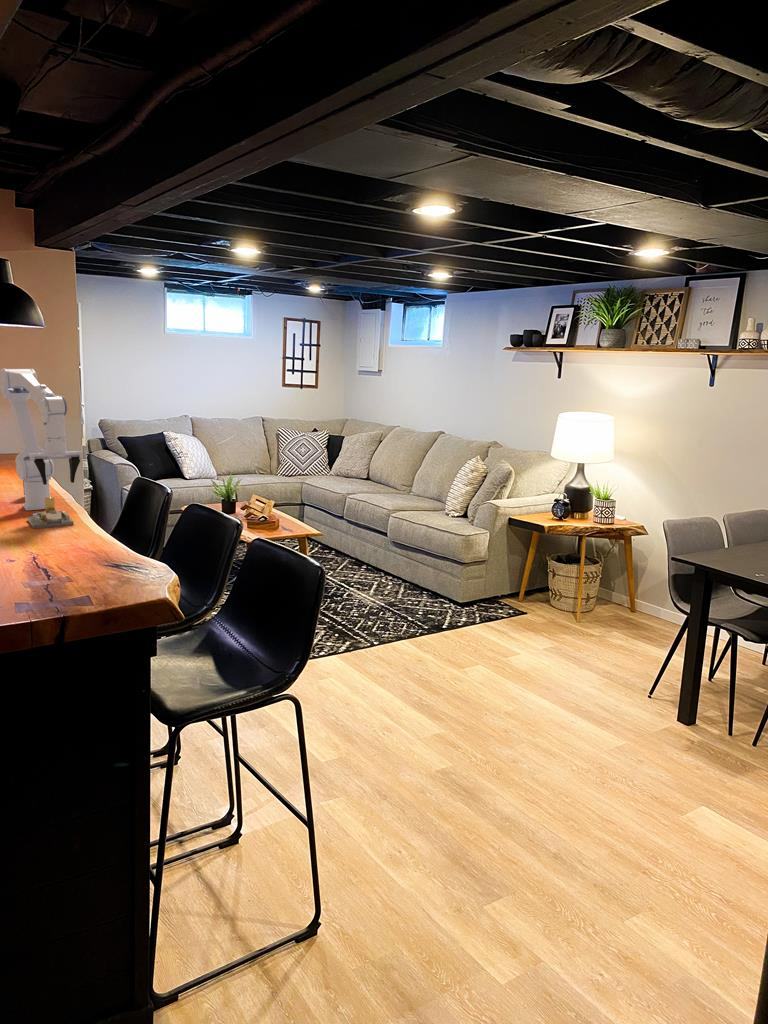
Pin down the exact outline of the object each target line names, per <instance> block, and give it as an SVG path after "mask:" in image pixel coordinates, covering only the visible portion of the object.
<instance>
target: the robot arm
mask: <svg viewBox="0 0 768 1024" xmlns="http://www.w3.org/2000/svg"><path fill="white" fill-rule="evenodd" d="M0 392H1V394H2V397H3V399H5V400H7V401H8V402H9V405H10V409H11V414H12V417H13V422H14V425H15V428H16V431H17V436H18V439H19V442H20V447H21V452H20V453H18V454H17V455H16V457H15V460H14V462H15V471H16V474H17V477H18V478H19V479H20V480H21V481H22V482H23V481H24V487H23V492H24V491H25V495H24V500H25V503H22V507H23V509H24V510H25V511H38V510H39V511H40V510H45V499H44V498H46V497H51V492H50V490H51V489H50V481H49V480H51V479H52V477H53V476H54V474H55V464H54V460H63V459H65V460H66V459H68V463H69V474H70V475H69V479H70V482H71V483H75V480H76V479H75V478H76V473H77V470H78V467H79V465H80V463H81V459H82V458H84V451H83V450H67V448H68V447H67V438H66V437H67V434H66V424H65V423H66V422H65V416H66V415H67V413H68V403H67V400H66V398H65V396H63V395H56V394H55V393H54V392H53V391H52V390H51V389H50V388H49V387H47V385H46V384H41V383H40V382H39V381H38V375H37V372H36V371H35V370H34V368H1V369H0ZM30 399H31V400H32V401H33V402H34V404H36V406H38V411H39V413H40V417H41V422H42V423H43V432H44V444H45V445H44V446H45V449H43V448H42V447H40V445H39V443H38V442H39V441H38V438H37V435H36V430H35V427H34V424H33V423H34V422H33V420H32V417H31V413H30V409H29V405H28V400H30Z"/></svg>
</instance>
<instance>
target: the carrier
mask: <svg viewBox="0 0 768 1024" xmlns="http://www.w3.org/2000/svg"><path fill="white" fill-rule="evenodd" d="M45 512H46V511H41V512H40V511H39V512H35V513H32V516H27V518H26V519H27V520H26V521H27V522H28V523H29V525H31V527H32V528H33V530H35V529H36V530H37V529H46V528H56V527H66V526H74V520H73V519H71V517H70V514H69V513H68V512H67V511H66V510H56V509H55V510H54V511H50V512H48V513H46V520H44V519H41V514H42V513H45Z"/></svg>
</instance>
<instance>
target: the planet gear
mask: <svg viewBox="0 0 768 1024" xmlns="http://www.w3.org/2000/svg"><path fill="white" fill-rule="evenodd" d="M44 499H45V509H44V510H45V511H44V512H45V513H42V514H41V519H44V520H46V513H48V512H50V511H54V510H55V511H56V504H55V497H53V496H50V497H46V498H44Z"/></svg>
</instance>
